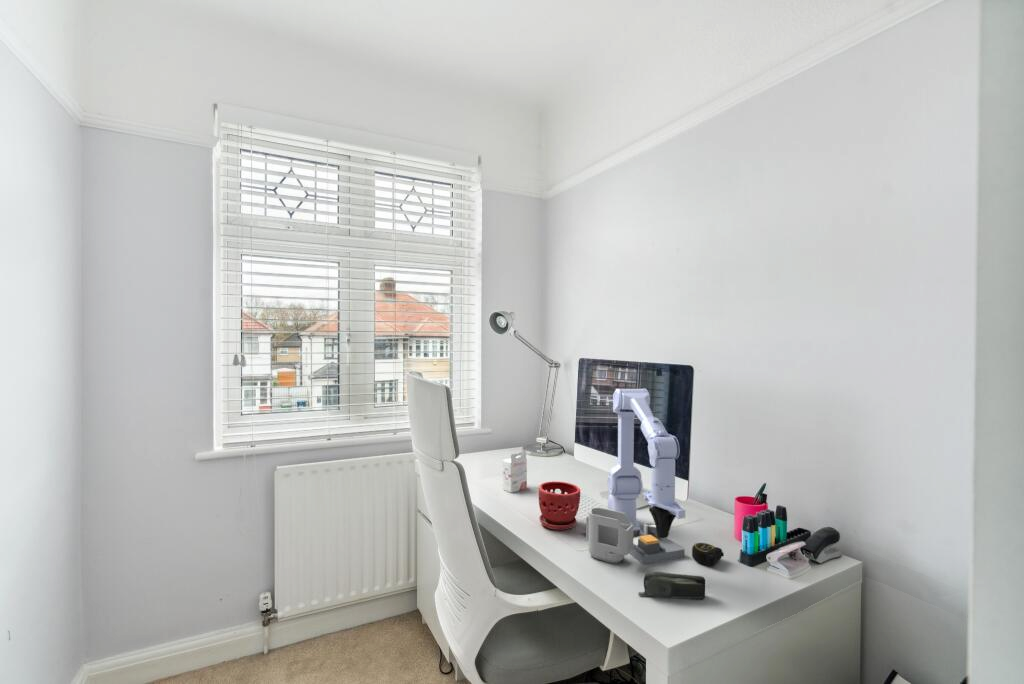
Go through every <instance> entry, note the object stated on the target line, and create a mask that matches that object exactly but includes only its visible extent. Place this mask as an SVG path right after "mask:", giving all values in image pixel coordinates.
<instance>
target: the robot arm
mask: <svg viewBox="0 0 1024 684" xmlns="http://www.w3.org/2000/svg"><path fill="white" fill-rule="evenodd" d="M650 404H651V395H650V392H649V391H648V390H647V388H616V389H615V390H614V392H613V394H612V411H613V413H615V414H617V464H616V465H614V466H613V467H611V468H610V469H609V472H608V477H607V489H608V493H609V496H608V497H607V509H609V510H613V511H618V512H622V513H626V515H627V517H628V518H629V520H630V522H631V523H632V524H633V527H639V526H640V525H641V524H642V523H640V522H638V521H637V499H638V498H639V495H641V494H643V495H642V496H643V497H642V499H643V500H644V501H647V504H648V505H649V506H650V507H649V508H648V511H649V512H650V514H651V517H652V519H653V522H654V524H655V525H656V529H657V534H658V536H659V537H660V538H669V534H670V529H671V527H672V524H673V522H674V520H675V519H678V520H681V519H686V510H685V509H684V508H683V507H682V506H680V504H679V503H678V502H676V460H677V459H678V458H679V456H680V453H681V452H680V451H681V448H680V443H679V440H678V438H677V437H676V436H675V435H672V434H671V433H668V431H667V430H666V428H665V426H664V425H663V423H662V421H661V419H660V418H658V417H656V416H654V414H653V412H652V410H651V407H650ZM636 417H637V418H638V419H639V421H640V422H641V424H640V430H641V432H642V435H643V436H644V438H645V440H646V441H647V444H648V445H647V452H648V456H649V464H650V465H651V491H644V492H643V486H644V484H643V480H642V472H641V471H640V470H639V468H638V467H636V466H634V465H635V464H634V453H635V452H634V451H635V449H634V447H635V446H634V445H635V441H634V440H635V439H634V438H635V418H636ZM642 492H643V493H642ZM621 524H623V523H621ZM625 525H627V524H625Z"/></svg>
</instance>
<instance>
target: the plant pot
mask: <svg viewBox="0 0 1024 684" xmlns="http://www.w3.org/2000/svg"><path fill="white" fill-rule="evenodd" d="M556 490H560V493H556ZM580 502H581V488H580V487H579V486H577V485H576V484H573V483H569V482H566V481H565V482H564V481H545V482H543V483H541V484H539V487H538V505H539V510H540V515H539V518H538V519H539V522H540V523H541V524H542V525H543V526H544V527H546V528H548V529H551V530H555V531H556V530H559V531H563V530H564V531H565V530H568V529H572V528H573V527H574V526H575V525H576V523H577V518H576V516H577V514H578V511H579V508H580Z"/></svg>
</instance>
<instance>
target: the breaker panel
mask: <svg viewBox="0 0 1024 684" xmlns="http://www.w3.org/2000/svg"><path fill="white" fill-rule="evenodd" d="M643 524H644V531H643V530H640V526H639V527H633V550H632V551H631V552H630V553H629V554H628V555H630V556H632V557H633V558H634V559H636V561H638V562H639V563H640V564H641V565H645V564H651V563H657V562H663V561H667V560H673V559H680V558H685V556H686V555H685V552H686V551H685V549H684V548H683V547H682V546H680V545H679V544H677V543H676V542H674V541H672V540H671V539H669V537H666V538H660V537H659V536H658V534H657V533H652V532H648V525H646V524H647V523H643ZM645 535H652V536H653V537H655V538H656V539H658V540H659V543H660V552H658V553H652V554H646V553H645V552H644V551H643V550H642V549H640V548H639V547H638V539H639V536H645Z"/></svg>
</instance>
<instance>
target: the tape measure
mask: <svg viewBox="0 0 1024 684" xmlns="http://www.w3.org/2000/svg"><path fill="white" fill-rule="evenodd" d="M724 554H725V553H724V552H723V549H721V547H717V546H714V545H713V544H710V543H706V542H696V543H694V544H693V545H692V547H691V556H692V558H693V560H694V561H695V562H697V563H699V564H703V565H707V566H715V564H716V563H717V562H718V561H720V560H721V559H722V558H723V557H724Z"/></svg>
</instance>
